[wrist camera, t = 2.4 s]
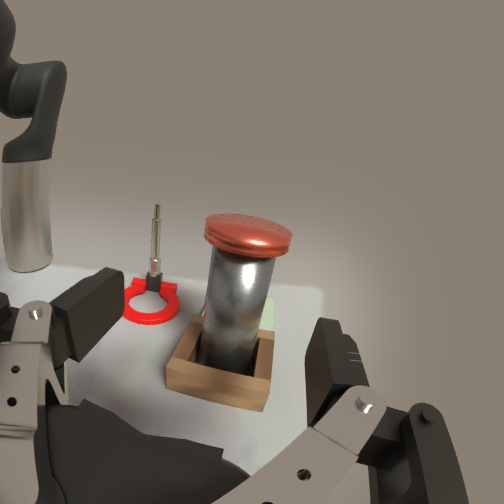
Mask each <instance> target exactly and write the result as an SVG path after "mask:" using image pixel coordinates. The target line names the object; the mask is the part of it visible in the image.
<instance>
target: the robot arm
mask: <svg viewBox="0 0 504 504" xmlns="http://www.w3.org/2000/svg"><path fill="white" fill-rule="evenodd" d="M15 28H16V24H15V20H14V17H13V15H12V13H11V11H10V10H9V8H8V7H7V5H6V3H5V2H4V0H0V112H1V113H3V114H4V115H6V116H7V117H10V118H14V119H21V118H30V117H32V120H31V123H30V125H29V127H28V128H27V129H26V130H25V132H23V133H22V134H21V135H20V136H18V137H17V138H15V139H13V140H12V141H10V142H8V143H7V144H5V146H4V148H3V154H2V208H1V221H2V233H3V242H4V250H5V257H6V261H8V266H9V268H10V269H12V270H14V271H17V272H31V271H35V270H39V269H41V268H43V267H45V266H47V265H48V264H49V263H50V262H51V261H52V258H53V257H52V245H51V229H50V170H51V157H52V148H53V143H54V139H55V133H56V127H57V121H58V116H59V112H60V107H61V103H62V99H63V95H64V91H65V85H66V79H67V71H66V66H65V65H64V63H63V62H61V61H47V62H39V63H32V64H19V63H17V62H15V61H14V60H13V59H12V58H11V57H10V54H11V50H12V47H13V42H14V39H15V32H16V29H15ZM124 309H125V292H124V275H123V272H122V271H119V270H115V269H111V268H108V267H105V268H103V269H102V270H100V271H99V272H98V273H96V274H95V275H92V276H89V277H87V278H84V279H82V280H81V281H79V282H78V283H76V285H73V286H72V287H71V288H70V289H68V290H66V291H65V292H63V293H62V294H61V295H59V296H58V297H56V298H55V299H54V300H52V301H51V302H50V303H47V302H45V301H31V302H29V303H26V304H25V305H23V306H22V307H21V308H20V309H19V308H15V307H10V303H9V299H8V296H7V295H6V294H5V293H2V292H0V504H322V503H323V502H324V501H325V500H326V499H327V498H328V496H329V495H330V494H331V493H332V492H333V491H334V489H335V488H336V487H337V486H338V484H339V483H340V482H341V481H342V479H343V478H344V477H345V476H346V474H347V473H348V472H349V470H350V469H351V468H352V466H353V465H354V464H355V462H356V463H360V464H364V465H368V471H369V485H370V501H371V504H469V502H468V497H467V493H466V489H465V485H464V481H463V477H462V473H461V470H460V466H459V463H458V460H457V456H456V453H455V450H454V447H453V444H452V441H451V438H450V435H449V432H448V430H447V427H446V424H445V422H444V419H443V416H442V415H441V413H440V412H439V411H438V409H436V408H435V407H434V406H432V405H430V404H426V403H418V404H415V405H413V406H412V407H411V409H410V410H409V411H408V412H404V411H400V410H397V409H393V408H390V407H387V406H386V401H385V399H384V398H383V396H382V395H381V394H380V393H379V392H378V391H376V390H374V389H372V388H370V386H369V383H368V380H367V377H366V373H365V370H364V367H363V363H362V362H361V357H360V354H359V351H358V348H357V345H356V343H355V342H354V340H353V339H352V338H351V337H350V336H349V335H347V334H342V330H341V327H340V323H339V321H338V320H333V319H327V318H321V317H320V318H319V319H318V321H317V323H316V326H315V329H314V332H313V334H312V337H311V340H310V343H309V345H308V348H307V351H306V355H305V379H306V400H307V429H306V430H305V431H304V432H303V433H302V434H300V435H299V436H298V437H297V438H296V439H295V440H294V441H293V442H292V443H291V444H290V445H288V446H287V447H286V448H285V449H284V450H283V451H282V452H280V453H279V454H278V455H277V456H276V457H275V458H273V459H272V460H271V461H270V462H269V463H267V464H266V465H265V466H264V467H262V468H261V469H260V470H259V471H257V472H256V473H255V474H253V475H252V476H250V475H249V474H248V473H247V472H245V471H244V470H242V469H241V468H240V467H238V466H236V465H235V464H233V463H231V462H229V461H227V460H225V459H223V458H222V454H223V450H224V449H222V448H217V447H213V446H209V445H205V444H201V443H197V442H193V441H190V440H186V439H177V438H167V437H159V436H152V435H146V434H143V433H141V432H139V431H138V430H137V429H135V428H134V427H132V426H131V425H129V424H128V423H126V422H125V421H124V420H122V419H121V418H119V417H118V416H117V415H115V414H114V413H112V412H110V411H108V410H106V409H104V408H102V407H100V406H98V405H96V404H93V403H91V402H90V401H88V400H86V399H83V401H82V402H81V404H80V405H79V406H73V405H70V404H69V397H68V381H67V364H66V360H67V359H68V358H71V359H73V360H75V361H77V362H78V363H79V362H80V361H81V360H82V359H83V358H84V357H85V356H86V355H87V353H88V352H89V351H90V350H91V349H92V348H93V347H94V346H95V345H96V344H97V343H98V341H99V340H100V339H101V338H102V337H103V336H104V335H105V334H106V333H107V332H108V331H109V330H110V329H111V327H112V326H113V325H114V324H115V323H116V322H117V321H118V320H119V319H120V318H121V317H122V315H123V313H124ZM408 463H409V464H408Z"/></svg>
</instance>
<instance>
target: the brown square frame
mask: <svg viewBox="0 0 504 504" xmlns="http://www.w3.org/2000/svg"><path fill="white" fill-rule="evenodd" d="M203 319H204V316H202V315H198V314H194V316H193V318H192V320H191V322H190V323H189V325H188V327H187V329H186V331H185V332H184V334H183V336H182V338H181V340H180V342H179V343H178V345H177V347H176V349H175V351H174V353H173V354H172V356H171V358H170V360H169V362H168V364H167V365H166V388H167V389H170V390H173V391H176V392H179V393H183V394H186V395H189V396H193V397H197V398H200V399H204V400H208V401H212V402H216V403H220V404H224V405H229V406H233V407H238V408H243V409H248V410H253V411H259V412H262V411H263V409H264V406H265V404H266V401H267V398H268V396H269V393H270V384H271V373H272V361H273V349H274V336H275V332H273V331H268V330H263V329H259V330H258V334H257V338H256V342H255V346H254V350H253V353H252V357H254V358H255V359H254V365H253V371H252V377H250V376H246V375H241V374H236V373H232V372H228V371H223V370H219V369H215V368H211V367H207V366H203V365H200V364H196V363H195V360H196V358H197V356H198V353H199V351H200V346H201V337H202V328H203Z"/></svg>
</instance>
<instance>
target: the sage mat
mask: <svg viewBox="0 0 504 504" xmlns="http://www.w3.org/2000/svg"><path fill="white" fill-rule="evenodd" d="M204 310H205V309H204ZM273 311H274V300H273V299H268V298H266V302H265V306H264V310H263V314H262V318H261V322H260V326H259V329H263V330H268V331H272V322H273ZM201 315H202V316H204V311H203V313H202V314H201Z"/></svg>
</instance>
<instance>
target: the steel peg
mask: <svg viewBox="0 0 504 504" xmlns="http://www.w3.org/2000/svg"><path fill="white" fill-rule="evenodd" d="M291 237H292V233H291V232H290V231H289V230H288V229H287V228H285V227H283V226H282V225H279V224H277V223H274V222H272V221H269V220H266V219H262V218H258V217H253V216H248V215H241V214H227V213H225V214H214V215H211V216H208V217H207V218H206V223H205V230H204V238H205V239H206V240H207V241H208V242H209V243H210V244H212V245H213V249H212V256H211V263H210V270H209V278H208V286H207V293H206V302H205V310H204V319H203V328H202V337H201V346H200V356H199V364H200V365H203V366H207V367H211V368H215V369H219V370H223V371H228V372H232V373H236V374H241V375H246V376H247V373H248V369H249V365H250V361H251V357H252V353H253V350H254V346H255V342H256V338H257V334H258V330H259V326H260V322H261V318H262V314H263V310H264V306H265V302H266V297H267V293H268V289H269V285H270V281H271V276H272V272H273V267H274V263H275V259H276V257H279V256H282V255H285V254H286V253H287V252H288V250H289V245H290V241H291Z"/></svg>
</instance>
